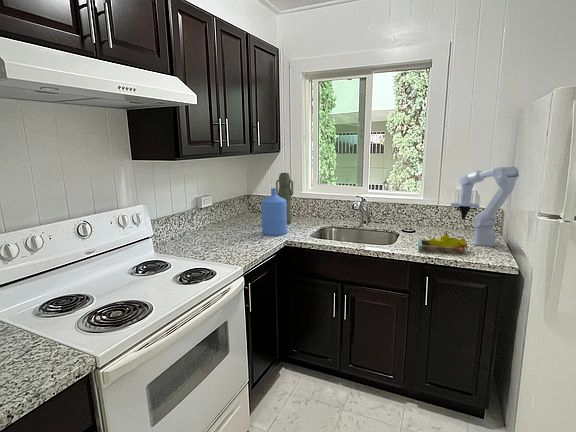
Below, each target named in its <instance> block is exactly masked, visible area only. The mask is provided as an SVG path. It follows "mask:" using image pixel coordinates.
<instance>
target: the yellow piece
mask: <svg viewBox="0 0 576 432" xmlns="http://www.w3.org/2000/svg"><path fill="white" fill-rule="evenodd" d="M443 233H444V234H442V236H441V237H440V238H429V239H428V240H430V245H432V246H440V247H454V248H463V252H465V250H468V243H467V242H468V241H467V240H465V238H464V237H459V236H457V235H455V234H453V233H451V232H450V231H448V230H446V231H444V232H443ZM449 233H450V234H451V235H453V236H455V237H457V238H455V237H451V236H450V235H449Z"/></svg>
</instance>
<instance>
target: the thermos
mask: <svg viewBox="0 0 576 432" xmlns="http://www.w3.org/2000/svg"><path fill="white" fill-rule="evenodd" d="M275 187H276V195H277V196H279V197H281V198H283V199H286V203H287V207H286V209H287V226H289V225H291V224H292V223H293V222H292V220H293V218H292V217H293V216H292V206H291V205H292V203H291V200H292V196H293V195H294V181H293V180H292V179H291V177H290V174H289V173H288V172H280V174H279V176H278V179H277V180H276V182H275Z"/></svg>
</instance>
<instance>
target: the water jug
mask: <svg viewBox="0 0 576 432" xmlns="http://www.w3.org/2000/svg"><path fill="white" fill-rule="evenodd" d="M270 190H271V191H270V195H269V196H267V197H265V198H264V199H262V200H261V203H260V206H261V223H262V224H261V225H262V227H261V231H262V235H264V234H265V236H268V235H269V237H279V236H283V235H286V234H287V233H288V225H287V209H286V207H287V203H286V199H283V198H281V197H279V196H278V195H277V194H276V188H270Z"/></svg>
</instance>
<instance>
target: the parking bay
mask: <svg viewBox="0 0 576 432" xmlns="http://www.w3.org/2000/svg"><path fill="white" fill-rule="evenodd" d="M417 241H418V242H417V249H418V252H421V253H434V254H436V253H437V254H445V255H446V254H448V255H458V254H459V256H460V255H461V256H463V255H464V251H463V248H454V247H440V246H432V245H430V240H429V239H418V240H417Z"/></svg>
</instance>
